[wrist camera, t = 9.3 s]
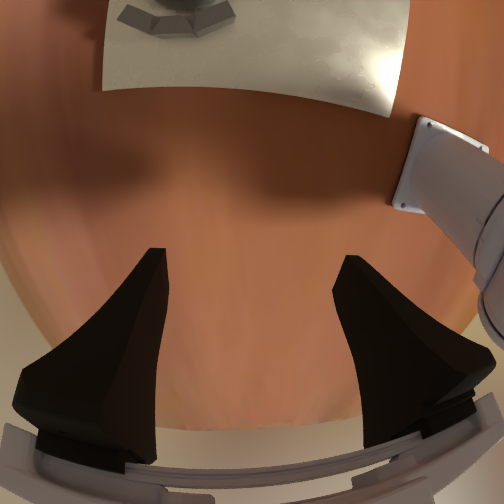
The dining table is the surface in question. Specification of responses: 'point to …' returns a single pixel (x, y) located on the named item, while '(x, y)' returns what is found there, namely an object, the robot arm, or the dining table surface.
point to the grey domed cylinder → (182, 3)
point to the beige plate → (262, 48)
